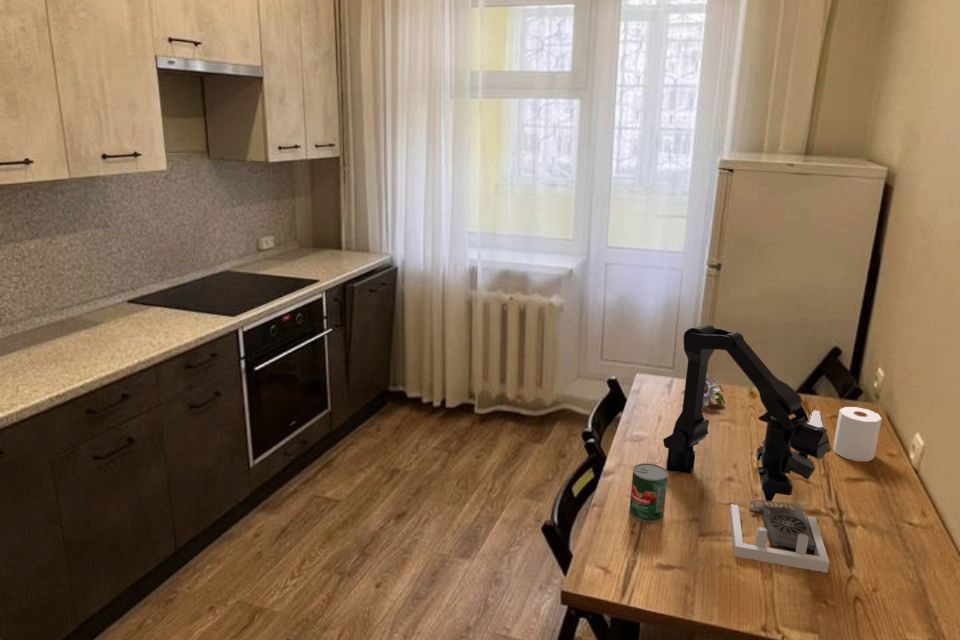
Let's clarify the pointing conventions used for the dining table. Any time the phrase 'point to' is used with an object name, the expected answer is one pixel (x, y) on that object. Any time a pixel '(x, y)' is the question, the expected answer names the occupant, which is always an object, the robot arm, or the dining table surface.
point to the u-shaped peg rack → (776, 555)
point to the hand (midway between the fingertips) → (768, 501)
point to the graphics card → (784, 523)
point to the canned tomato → (648, 492)
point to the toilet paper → (857, 433)
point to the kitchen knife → (816, 419)
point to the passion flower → (712, 392)
